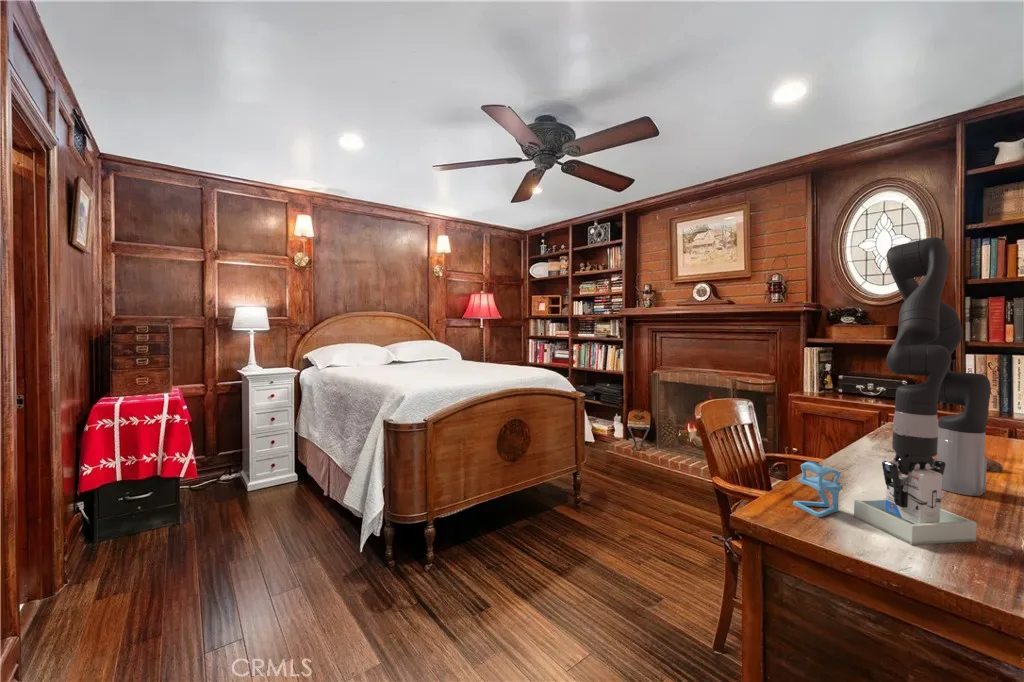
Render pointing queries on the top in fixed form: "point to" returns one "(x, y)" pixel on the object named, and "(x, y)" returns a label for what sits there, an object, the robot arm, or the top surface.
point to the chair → (820, 488)
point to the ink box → (919, 498)
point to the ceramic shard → (991, 465)
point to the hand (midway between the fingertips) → (911, 505)
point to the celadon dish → (916, 525)
